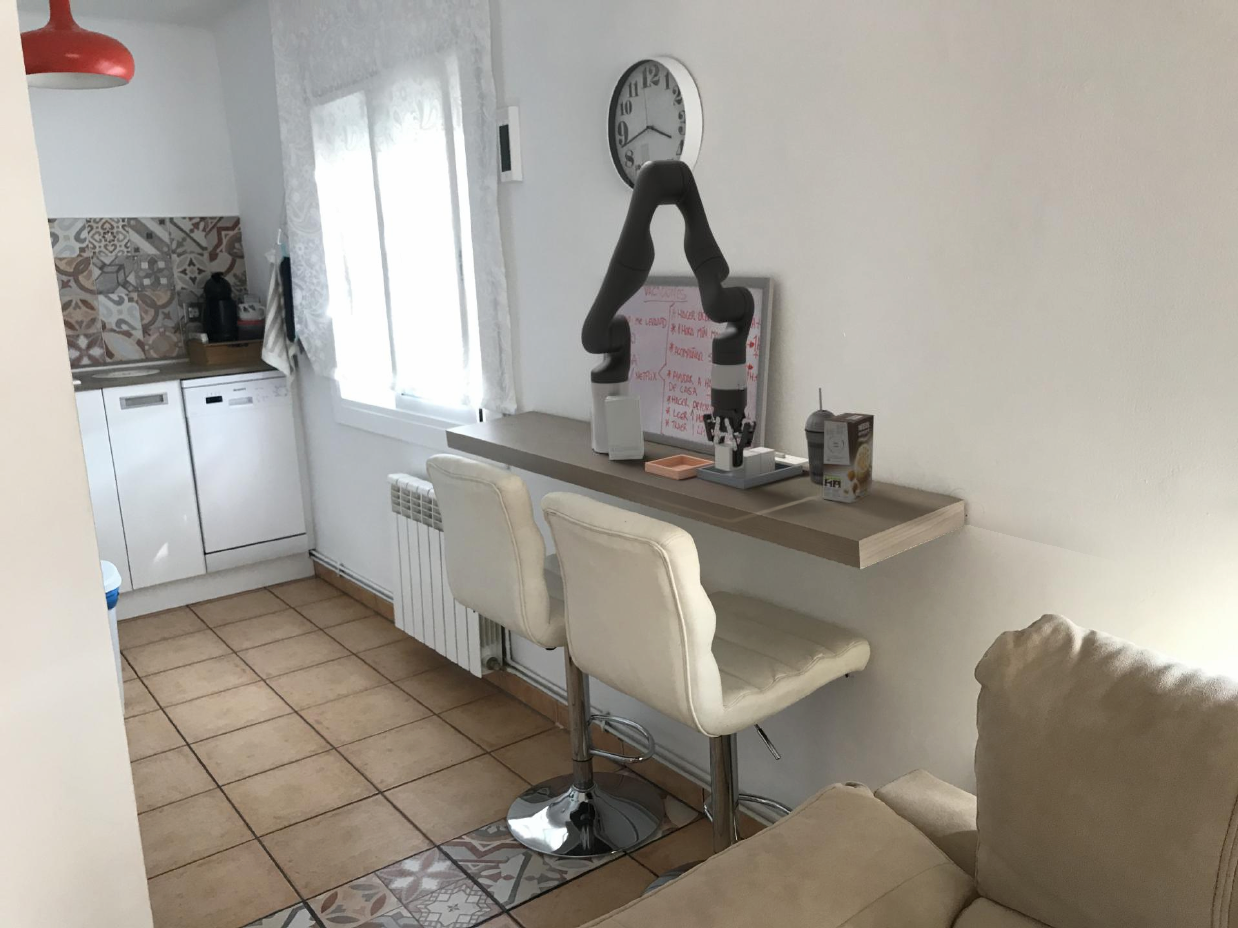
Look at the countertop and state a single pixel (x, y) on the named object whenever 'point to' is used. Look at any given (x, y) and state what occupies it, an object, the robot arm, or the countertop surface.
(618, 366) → the robot arm
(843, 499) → the coffee box
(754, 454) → the white cuboid
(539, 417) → the countertop surface
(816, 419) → the beverage cup
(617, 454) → the skincare box
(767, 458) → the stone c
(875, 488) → the countertop surface
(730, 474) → the blue-grey shallow rectangular tray
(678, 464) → the orange square tray
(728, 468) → the white block
